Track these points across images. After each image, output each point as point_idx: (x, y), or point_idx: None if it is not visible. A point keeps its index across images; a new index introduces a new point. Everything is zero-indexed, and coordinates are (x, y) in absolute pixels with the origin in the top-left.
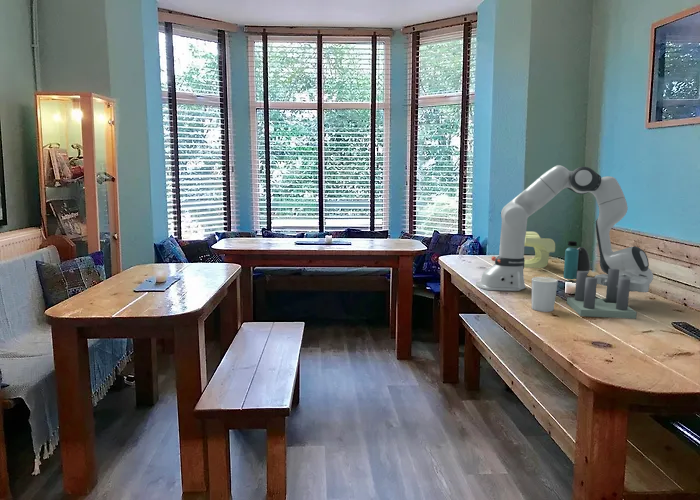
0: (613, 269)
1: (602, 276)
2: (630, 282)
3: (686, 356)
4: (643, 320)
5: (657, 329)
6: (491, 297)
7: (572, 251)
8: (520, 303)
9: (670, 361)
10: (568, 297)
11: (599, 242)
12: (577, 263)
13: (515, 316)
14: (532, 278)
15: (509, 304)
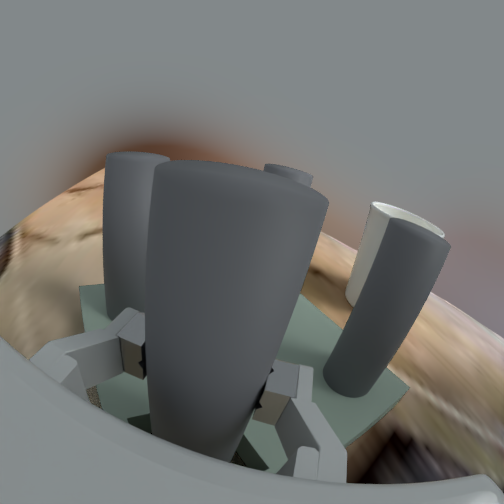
0: (248, 178)
1: (431, 493)
2: (7, 343)
3: (81, 186)
4: (63, 297)
5: (61, 245)
6: (490, 330)
7: None
8: (436, 321)
9: None
10: (404, 387)
11: None
12: None
13: (355, 250)
14: (431, 224)
15: (434, 304)
